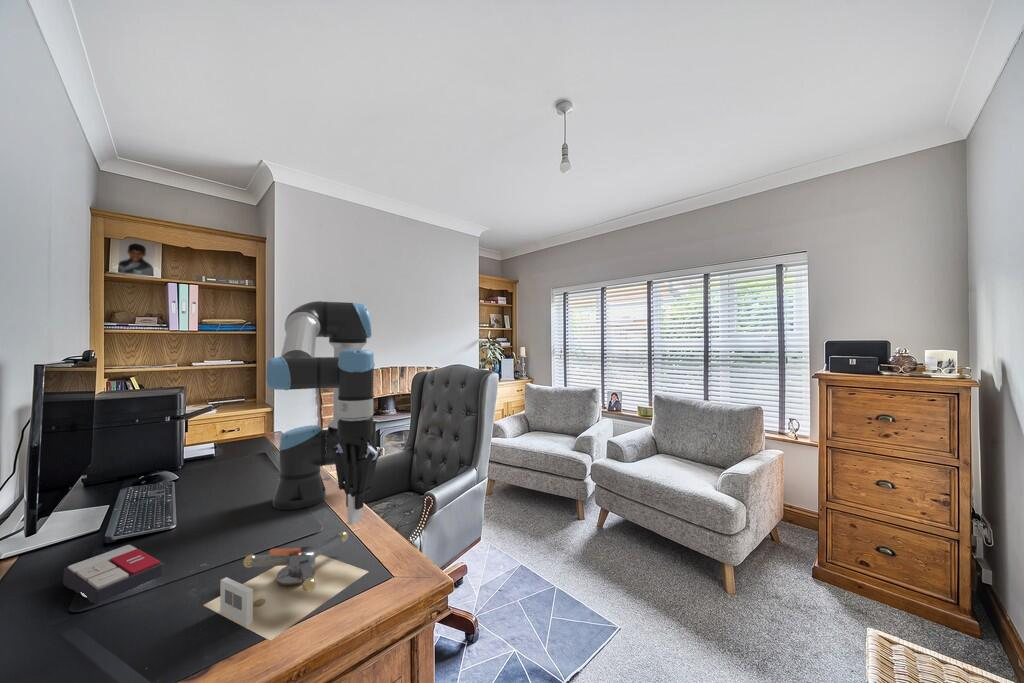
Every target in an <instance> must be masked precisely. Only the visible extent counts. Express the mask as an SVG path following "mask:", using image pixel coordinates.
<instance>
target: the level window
mask: <svg viewBox="0 0 1024 683" xmlns="http://www.w3.org/2000/svg"><path fill="white" fill-rule="evenodd" d="M243 584H244V583H241V582H239V581H235V580H233V579H231V578H230V577H228V576H226V577H224V578H222V579H220V588H219V589H220V593H219V594H220V612H221V613H223V614H225V615H226V616H228V617H230V618H232V619H234V620H236V621H238V622H240V623H242V624H244V625H246V626H248V625H249V624H251V623H252V622H253V589H252V588H249V587H247V586H245V585H243Z"/></svg>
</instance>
